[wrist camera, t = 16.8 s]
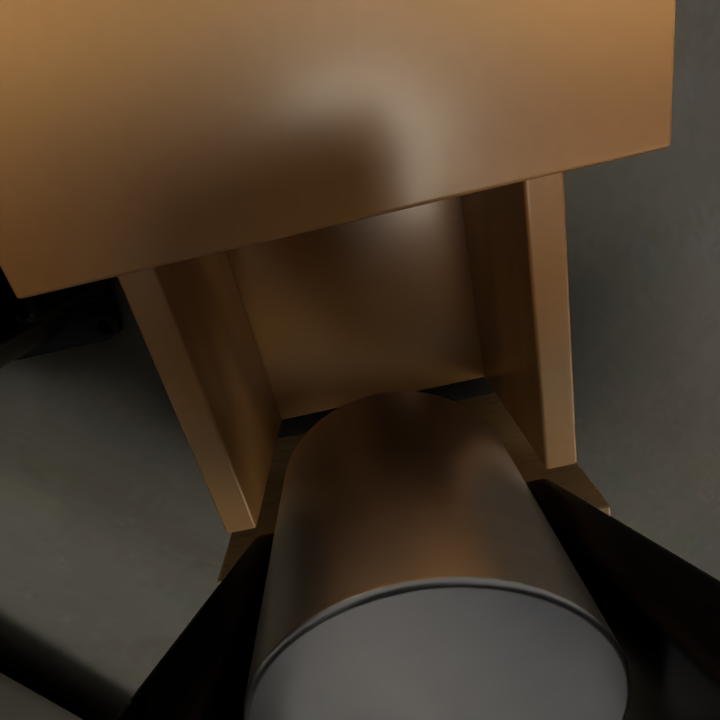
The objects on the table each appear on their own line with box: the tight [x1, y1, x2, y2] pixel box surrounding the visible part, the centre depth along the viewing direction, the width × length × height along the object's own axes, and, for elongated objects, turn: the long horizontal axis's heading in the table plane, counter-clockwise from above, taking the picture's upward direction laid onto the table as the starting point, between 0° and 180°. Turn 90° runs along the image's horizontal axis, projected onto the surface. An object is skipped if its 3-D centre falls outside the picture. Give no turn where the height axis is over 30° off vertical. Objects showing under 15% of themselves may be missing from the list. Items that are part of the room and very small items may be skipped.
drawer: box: [117, 172, 610, 585], centre depth 14 cm, size 18×10×7 cm, turn 12°
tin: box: [243, 391, 631, 720], centre depth 8 cm, size 5×5×4 cm
